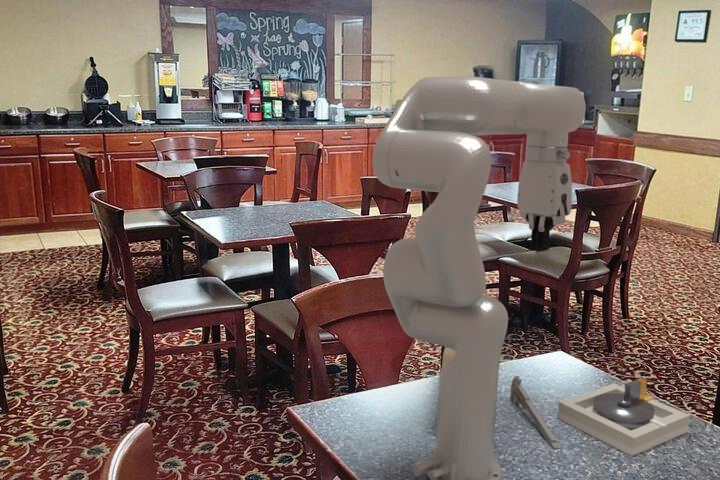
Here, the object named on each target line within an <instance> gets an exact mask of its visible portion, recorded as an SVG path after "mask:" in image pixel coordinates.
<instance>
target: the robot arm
mask: <svg viewBox="0 0 720 480" xmlns="http://www.w3.org/2000/svg"><path fill="white" fill-rule="evenodd" d="M586 105H587V104H586V100H585V97H584V94H583V93H582V91H580V89H578V88H577V87H573V86H563V85H562V86H561V85H552V84H551V85H549V84H539V83H538V84H537V83H533V82H525V81H518V80H516V81H515V80H508V79H506V80H505V79H497V78H488V77H480V76H427V77H423V78H421V79H419V80H418V81H416V82H415V83H414V84H413V85H412V86H411V88H409V90H407V91H406V93H405V95H404V96H403V97H402V99H401V101H400V102H399V104H398V105H397V106H396V108H395V109H394V111H393V113H392V115H391V116H390V118H388V120H387V122H386V124H385V126H384V128H382V130H381V132H380V134H379V136H378V138H377V140H376V142H375V145H374V148H373V152H372V158H371V159H372V160H371V161H372V162H371V163H372V169H373V173H374V175H375V177H376V178H377V179H378V181H379V182H380V183H382V184H383V185H385V186H387V187H389V188H393V189H394V188H395V189H401V190H402V189H403V190H412V191H421V192H422V191H423V192H424V191H425V192H431V193H433V192H435V193H438V194H437V195H436V198H435V199H434V200H433V202H432V203H431V204H430V205H429V206H428V207H427V208H426V209H425V210H424V211H423V213H422V214H421V216H419V218H418V220H417V223H416V224H415V226H414V237H407V238H402V239H399V240H398V241H396V242H394V243H393V244H392V245H391V246H390V247H389V249H388V250H387V253H386V254H385V258H384V260H383V261H384V262H383V268H382V274H383V275H382V276H383V283H384V288H385V291H386V292H387V293H386V294H387V295H388V298H389V301H390V303H391V305H392V309H393V310H394V312H395V314H396V317H397V319H398V322H399V324H400V326H401V328H402V330H403V331H404V333H406V334H407V336H409V337H410V338H412V339H415V340H418V341H421V342H425V343H429V344H434V345H438V346H441V347H444V348H445V347H448V348H451V349H453V350H454V351H455V354H454V356H453V357H452V358H450V359H449V360H448V361H447V362H446V363H445V364H444V366H443V367H442V366H441V370H440V373H439V375H438V398H437V399H438V400H437V420H436V421H437V423H436V425H437V426H436V444H435V445H436V447H434V448H432V449H431V450H430V456H428V457H427V459H426V460H423V461H420V462H417V463H413V465H412V471H413V474H414V475H415V476H416V477H419V476H422V475H425V474H426V475H427V477H428V478H429V479H430V480H502V475H503V471H502V467H501V465H500V464H499V462H498V461H496V459H494V450H495V449H494V447H495V431H496V430H495V429H496V418H497V417H496V416H497V403H498V401H497V399H498V386H499V369H500V364H501V357H502V351H503V346H504V342H505V338H506V335H507V334H506V333H507V330H508V324H509V316H508V315H509V314H508V311H507V309H506V307H505V306H504V304H503V303H502V302H501V301H500V300H498V299H496V298H495V297H493V296H490V295H488V294H485V292H486V289H487V278H486V277H487V275H486V272H485V267H484V266H485V265H484V263H483V259H482V255H481V251H480V247H479V244H478V240H477V236H476V233H475V231H476V230H475V221H476V217H477V214H478V211H479V208H480V206H481V203H482V199H483V196H484V194H485V191H486V188H487V184H488V181H489V178H490V175H491V169H492V156H491V155H492V153H491V150H490V148H489V146H488V144H487V143H486V142H485V141H484V140H483V139H482V138H480V137H478V136H490V135H526V147H525V161H523V163H522V167H521V171H520V176H519V181H518V188H517V208H518V211H519V212H518V215H519V217H521V218H523V219H525V220H526V221H527V223H528V229H530V230H531V234H530V235H531V236H530V250H531V251H535V252H536V253H540V252H544V251H548V250H549V243H550V242H549V241H550V232H551V231H552V230H553V229H554V227H555V226H556V225H563V224H564V225H565V223H566V216H569V215H571V212H572V199H573V197H572V196H573V195H572V194H573V190H572V188H573V186H572V185H573V183H572V173H571V172H572V171H571V166H570V164H568V163H567V160H568V159H570V157H571V153H570V151H568V145H569V143H568V142H569V133H572V132H575V131H576V130H577V129H578V128H579V127H581V125H582V124H583V122H584V118H585V115H586V110H587V109H586Z"/></svg>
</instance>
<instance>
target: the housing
mask: <svg viewBox="0 0 720 480" xmlns="http://www.w3.org/2000/svg"><path fill="white" fill-rule="evenodd" d="M605 393H622V394H625V386H622V385H619V384H617V383H615V382H614V383H611V384H609V385H605V386H603V387H599V388H597V389H593V390H590V391H587V392H585V393H582V394H578V395H575V396H572V397H570V398H567V399H563V400H561V401H559V402H558V411H557V419H558V420H560V421H562V422H564V423H565V424H568V425H570V426H572V427H574V428H576V429H578V430H579V431H582V432H584V433H586V434H588V435H590V436H592V437H594V438H595V439H598V440H599V441H601V442H603V443H605V444H608V445H610V446H611V447H613V448H615V449H617V450H619V451H621V452H623V453H625V454H627V455H629V456H631V457H633V456H636V455H638V454H641V453H642V452H644V451H645V452H646V451H647V450H649V449H652V448H654V447H656V446H659V445H661V444H664V443H665V442H668V441H670V440H672V439H675V438H677V437H679V436H682V435H684V434H686V433H688V430H689V425H690V424H689V423H690V416H691V415H690V414H688V413H686V412H683V411H682V410H679V409H676V408H674V407H671V406H669V405H666V404H665V403H662V402H660V401H657V400H656V399H655V397H653V396H652V395H645V401H647V402H648V403H650V404H651V405H652V406H653V407H654V418H653V419H652V420H650V422H652V423H649V424H647V425H644V426H642V427H639V428H637V429H634V430H632V431H631V430H629V429H627V428H625V427H622V426H620V425H618V424H616V423H614V422H612V421H610V420H608V419H606V418H604V417H601V416H599V415H597V414H595V413H593V403H594V398H595V397H596V396H598V395H600V394H605Z"/></svg>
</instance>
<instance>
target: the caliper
mask: <svg viewBox="0 0 720 480" xmlns="http://www.w3.org/2000/svg"><path fill="white" fill-rule="evenodd" d="M521 384H522V379H520V376H519V375H514V377H513V378H512V381H511V385H510V397H509V399H510V402H513V406H519V405H520V406H521V407H522V409H524V410H526V411H527V413H528V414H529V416H530V417H531V420H533V422H534V423H535V425H536V427H537V429H538V430H539V432H540V433H541V435H542V436H543V438H544V439H545V441H546V443H548V444H549V445H550V446H551V448H552V449H554V450H556V449H557V450H558V449H560V446H559V445H558V442H557V439H556V437H555V435H554V434H553V432H552V431H551V430H550V428H549V426H548V425H547V423H546V422H545V421H544V419H543V417H542V416H541V414H540V413H539V411H538V410H537V409H536V407H535V405H534V404H533V402H532V401H531V397H530V396H529V394H528V393H527V391H526V389H525V388H524V386H523V385H521Z"/></svg>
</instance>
